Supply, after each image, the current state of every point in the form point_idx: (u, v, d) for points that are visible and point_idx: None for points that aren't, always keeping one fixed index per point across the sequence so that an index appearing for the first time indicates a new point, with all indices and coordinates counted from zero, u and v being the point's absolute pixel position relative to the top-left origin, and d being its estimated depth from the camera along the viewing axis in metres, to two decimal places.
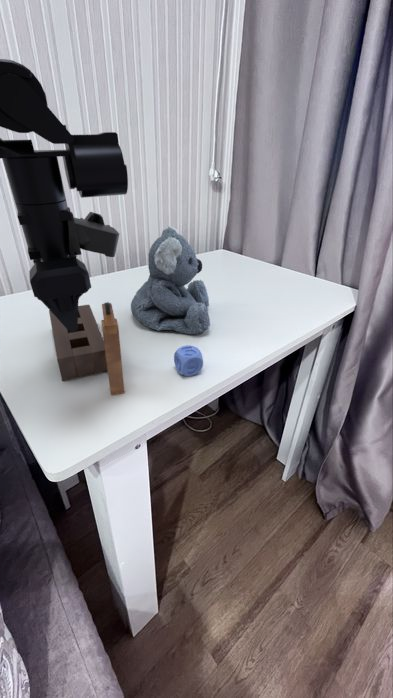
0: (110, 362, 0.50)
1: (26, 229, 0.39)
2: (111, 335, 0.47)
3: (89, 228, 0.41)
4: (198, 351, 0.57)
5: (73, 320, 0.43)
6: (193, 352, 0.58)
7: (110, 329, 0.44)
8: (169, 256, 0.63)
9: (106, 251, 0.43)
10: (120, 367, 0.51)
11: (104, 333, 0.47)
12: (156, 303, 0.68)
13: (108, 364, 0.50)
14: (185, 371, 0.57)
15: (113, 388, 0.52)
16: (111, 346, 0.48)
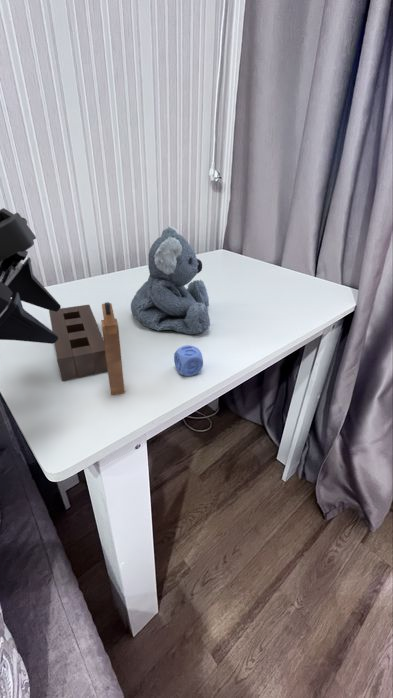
0: (110, 362, 0.50)
1: None
2: (111, 335, 0.47)
3: None
4: (198, 351, 0.57)
5: (44, 333, 0.40)
6: (193, 352, 0.58)
7: (110, 329, 0.44)
8: (169, 256, 0.63)
9: (18, 247, 0.37)
10: (120, 367, 0.51)
11: (104, 333, 0.47)
12: (156, 303, 0.68)
13: (108, 364, 0.50)
14: (185, 371, 0.57)
15: (113, 388, 0.52)
16: (111, 346, 0.48)
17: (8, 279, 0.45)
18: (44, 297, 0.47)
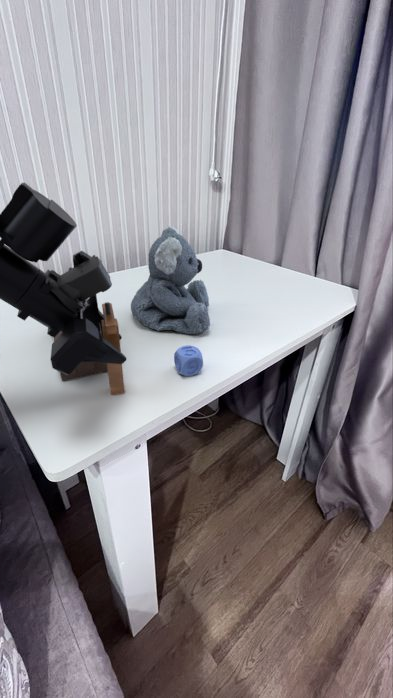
0: None
1: (33, 318, 0.42)
2: (111, 335, 0.47)
3: (71, 282, 0.40)
4: (198, 351, 0.57)
5: (116, 355, 0.46)
6: (193, 352, 0.58)
7: (110, 329, 0.44)
8: (169, 256, 0.63)
9: (100, 288, 0.42)
10: (120, 367, 0.51)
11: (104, 333, 0.47)
12: (156, 303, 0.68)
13: (108, 364, 0.50)
14: (185, 371, 0.57)
15: (113, 387, 0.52)
16: None
17: None
18: None
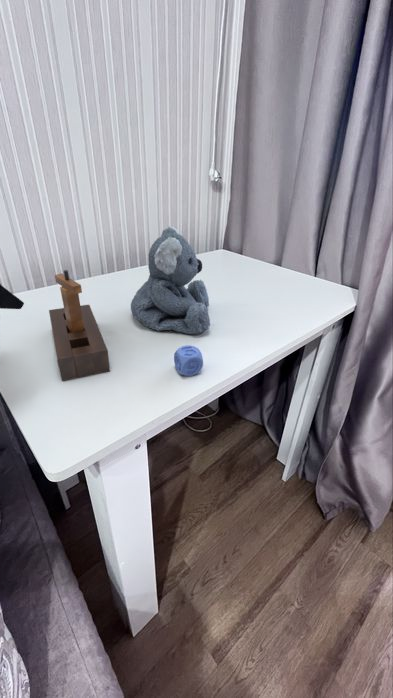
0: (74, 322, 0.60)
1: None
2: (73, 297, 0.57)
3: None
4: (198, 351, 0.57)
5: (13, 299, 0.46)
6: (193, 352, 0.58)
7: (77, 289, 0.55)
8: (169, 256, 0.63)
9: None
10: (82, 325, 0.61)
11: (67, 296, 0.57)
12: (156, 303, 0.68)
13: (72, 324, 0.60)
14: (185, 371, 0.57)
15: None
16: (73, 307, 0.58)
17: None
18: None
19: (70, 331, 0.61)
